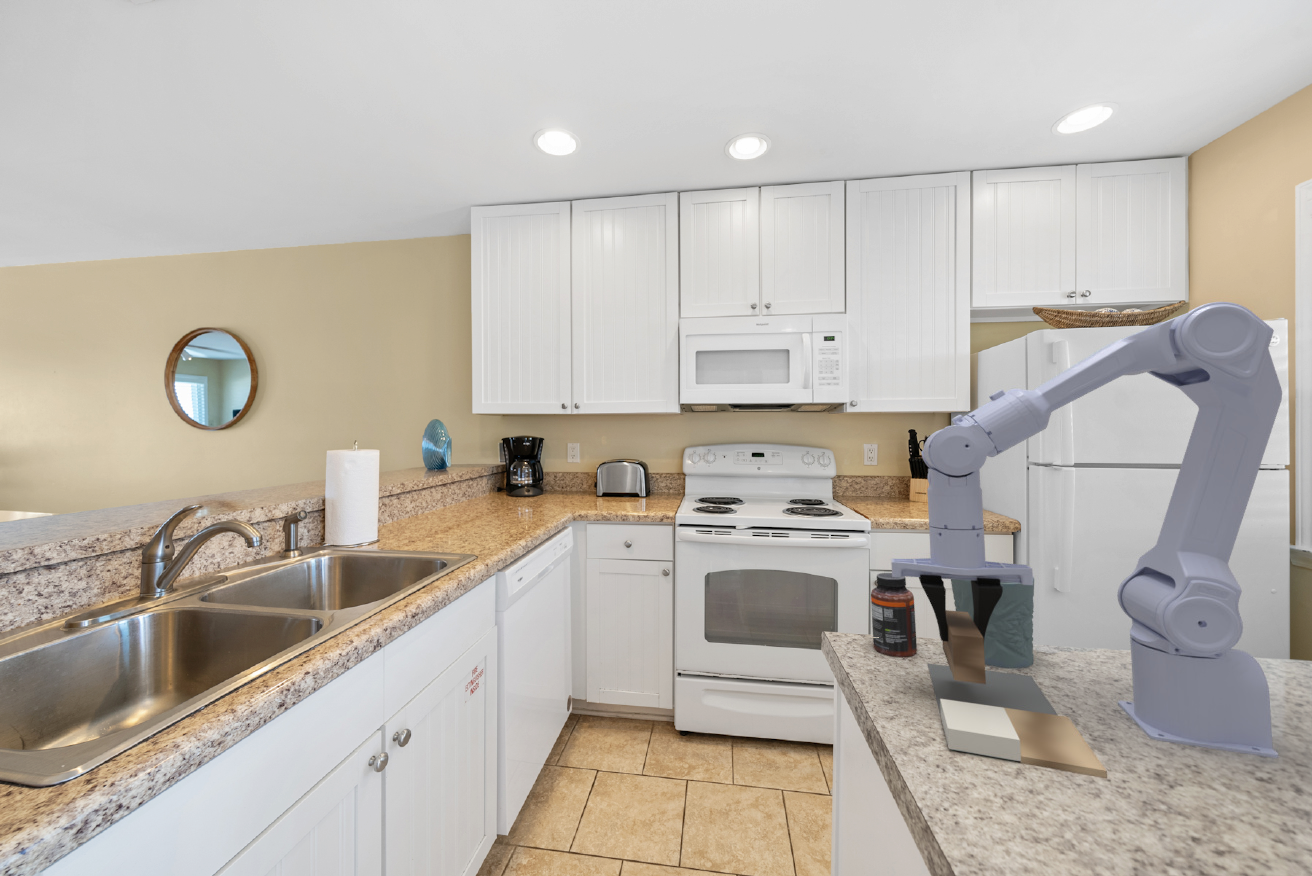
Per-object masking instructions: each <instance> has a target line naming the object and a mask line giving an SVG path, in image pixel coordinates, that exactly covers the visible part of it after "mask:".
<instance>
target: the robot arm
mask: <svg viewBox="0 0 1312 876" xmlns="http://www.w3.org/2000/svg"><path fill="white" fill-rule="evenodd" d="M1273 335H1274V329H1273V327H1271V326H1270V325H1269V324H1268V323H1266V321H1264V320H1262V318H1260V317H1259V316H1258V315H1256V313H1254V312H1253V311H1252V310H1250V309H1249V308H1247V307H1246V306H1243V305H1242V304H1239V303H1235V302H1230V301H1214V302H1213V301H1212V302H1208V303H1204V304H1202V305H1199V306H1196V307H1195V308H1193V309H1191V310H1189V311H1188V312H1186V313H1183V314H1181V315H1178V316H1175V317H1174V318H1170V319H1168V320H1166V321H1161V322H1157V323H1155V324H1151V325H1149V326H1148V327H1146V328H1144V330H1140V331H1138V332H1136V333H1133V334H1131V335H1128V336H1126V337H1124V338H1121V339H1118V340H1115V341H1112V342H1110V343H1108V344H1106V345H1105V346H1103V347H1101V348H1099V349H1098V350H1097V351H1094V352H1093V353H1092V354H1090V355H1089V356H1087V357H1084V358H1083V359H1082V360H1080V361H1079V362H1077V363H1074V364H1073V365H1072V366H1070V367H1069V368H1067V369H1065V370H1064V371H1061V372H1060V373H1059V374H1057V375H1055V376H1054V377H1052V378H1050V379H1049V380H1047V381H1045V382H1044V383H1042V384H1040V385H1039V386H1037V387H1035V388H1034V389H1032V390H1029V389H1023V388H1018V387H1017V388H1015V387H1014V388H1011V389H1009V390H1007V391H1004V390H1003V389H999V390H997V391H995V392H994V393H992V394H990V395H989V400H990V401H989V402H987V403H985V404H983V405H981V406H980V407H977V408H976V409H974V410H973V411H971V412H969V413H968V414H966V415H962V414H958V415H957V416H955V417H952V419H951V421H952V422H953V424H954V425H948V426H945V427H944V428H942V429H939V430H936V431H935V432H933V433H932V434H930V435H929V436H928V437H927V439H926V440H925V442H924V444H923V449H922V451H921V458H922V460H923V461H924V463H925V465H926V466H927V467H928V468H927V472H928V473H927V482H928V487H927V492H926V493H927V507H928V508H927V510H928V512H927V514H928V527H929V528H928V530H929V531H928V532H929V551H930V552H929V553H930V557H929V558H927V557H926V558H923V557H922V558H891V559H890V560H891V561H890V563H891V573H892V577H902V576H905V578H906V577H909V578H918V579H919V583H920V585H921V587H922V589H923V591H924V593H925V594H926V596H927V599H928V601H929V603H930V605H931V607H932V610H933V612H934V616H935V618H936V619H935V620H936V623H937V627H938V633H939V638H940V640H941V641H947V642H948V628H947V621H946V610H947V609H946V603H947V602H946V599H947V598H946V595H947V594H946V593H947V589H946V587H945V583H944V580H945V579H946V580H951V579H958V580H971V587H972V597H973V608H974V615H973V622H974V623H975V625H976V627H977V628H978V630H979V631H980V633H981V635H982V636H983V638H984V639H985V633H986V629H987V625H988V622H989V619H990V617H991V614H992V612H993V610H994V608H995V606H996V604H997V603H998V601H999V599H1000V598H1001V596H1002V593H1003V587H1002V586H1001V584H1000V582H1009V583H1021V584H1023V585H1033V578H1034V576H1033V575H1034V574H1033V568H1032V567H1031V566H1029V565H1028V564H1018V563H1008V562H1007V563H1006V562H996V561H988V560H986V548H985V545H986V544H985V543H986V542H985V526H984V509H983V508H984V507H983V506H984V505H983V490H982V488H981V476H980V475H981V473H980V470H981V468H982V467H983V466H984V465H985V462H986V460H987V458H994V457H997V456H998V455H1000V454H1001V453H1004V452H1006V451H1007V450H1009V449H1011V448H1013V447H1015V446H1017V445H1018V444H1020V443H1022V442H1024V441H1026V440H1028V439H1029V438H1032V437H1033V436H1035V435H1037V434H1038V433H1040V432H1043V431H1044V430H1046V429H1047V427H1048V426H1049V422H1050V418H1051V415H1052V413H1053V412H1055V411H1056V410H1058V409H1060V408H1062V407H1064V406H1066V405H1068V404H1070V403H1071V402H1074V401H1076V400H1078V399H1080V398H1081V397H1084V396H1086V395H1087V394H1090V393H1091V392H1093V391H1096V390H1097V389H1099V388H1101V387H1103V386H1105V385H1107V384H1110V383H1111V382H1113V381H1114V380H1116V379H1118V378H1120V377H1123V376H1137V375H1141V374H1145V373H1147V374H1149V375H1151V376H1152V377H1155V378H1157V379H1158V380H1161V381H1163V382H1164V383H1167V384H1169V385H1171V386H1172V387H1173V386H1174V387H1175V388H1177V389H1179V390H1180V391H1181V392H1182V393H1183V394H1184V395H1185V396H1186V397H1188V399H1190V400H1191V401H1192V402H1193V403H1194V404H1195V405H1196V406H1197V407H1198V411H1197V414H1196V417H1195V421H1194V422H1193V423H1194V424H1193V427H1192V430H1191V433H1190V435H1189V440H1188V443H1187V446H1186V449H1185V452H1184V455H1183V458H1182V461H1181V465H1180V469H1179V472H1178V474H1177V477H1176V481H1175V484H1174V487H1173V489H1172V493H1171V496H1170V498H1169V499H1170V500H1169V503H1168V506H1167V510H1166V513H1165V515H1164V518H1163V519H1164V520H1163V522H1162V525H1161V528H1160V531H1159V535H1158V538H1157V541H1156V544H1155V545H1154V546H1153V547H1152V548H1150V549H1149V550H1148V551H1146V552H1145V553H1143V555H1141V556H1140V557H1139V558H1138V561H1137V564H1136V567H1135V568H1134V570H1133V571H1132V572H1131V574H1129V575H1128V576H1127V577H1126V578H1124V579H1123V580H1122V582H1121V583H1120V585H1119V587H1118V589H1117V601H1118V604H1119V607H1120V609H1121V610H1122V612H1124V614H1125V615H1126V616H1128V617H1129V618H1130V619H1131V624H1132V625H1131V627H1130V630H1129V636H1130V638H1129V639H1130V640H1129V642H1130V654H1131V655H1130V658H1131V659H1130V660H1131V677H1132V678H1131V679H1132V696H1133V698H1132V699H1133V701H1129V700H1127V701H1126V700H1118V701H1117V705H1118V706H1119V708H1121V710H1122V711H1124V713H1125V714H1126V715H1127V716H1128V717H1129V718H1130V719H1131V721H1133V722H1134V724H1136V725H1137V727H1138V728H1139V729H1141V731H1142V732H1143V733H1144V734H1145V735H1146V736H1147V737H1148V738H1149V739H1151V740H1154V741H1158V742H1165V743H1166V742H1167V743H1172V744H1180V745H1185V746H1193V747H1199V748H1206V749H1213V750H1219V751H1220V750H1221V751H1225V752H1226V751H1227V752H1233V753H1240V754H1247V755H1252V756H1253V755H1254V756H1258V757H1259V756H1260V757H1265V758H1266V757H1268V758H1272V759H1278V758H1279V755H1280V754H1279V752H1277V751H1276V750H1275V749H1274V748H1273V747H1274V746H1273V731H1272V730H1273V729H1272V715H1271V699H1270V698H1271V697H1270V696H1271V695H1270V688H1269V684H1268V680H1267V677H1266V675H1265V672H1264V670H1263V668H1262V666H1261V665H1260V663H1259V662H1258V660H1257V659H1256V657H1254V656H1253V655H1251V654H1250V653H1249V652H1248V651H1246V650H1245V651H1244V650H1242V649H1237V648H1234V647H1235V646H1236V645H1237V644H1238V643H1239V641H1240V639H1241V638H1242V634H1243V629H1244V626H1243V625H1244V624H1243V619H1242V617H1241V613H1240V611H1239V610H1240V609H1239V602H1240V598H1241V596H1242V588H1241V586H1240V584H1239V582H1238V580H1237V579H1236V577H1235V575H1234V573H1233V572H1232V570H1231V568H1230V566H1229V561H1230V559H1231V556H1232V553H1233V549H1234V547H1235V544H1236V540H1237V538H1238V537H1237V536H1238V535H1239V534H1238V533H1239V531H1240V527H1241V524H1242V522H1243V519H1244V516H1245V514H1246V513H1245V512H1246V510H1247V507H1248V505H1249V500H1250V499H1251V498H1250V497H1251V495H1252V492H1253V489H1254V485H1255V483H1256V479H1257V476H1258V473H1259V470H1260V467H1261V464H1262V461H1263V457H1264V455H1265V452H1266V450H1267V449H1266V448H1267V446H1268V443H1269V439H1270V436H1271V434H1272V430H1273V428H1274V425H1275V422H1276V419H1277V414H1278V412H1279V409H1280V406H1281V403H1282V398H1283V389H1282V387H1281V383H1280V379H1279V377H1278V374H1277V371H1276V367H1275V365H1274V360H1273V359H1272V355H1271V351H1270V349H1269V347H1270V344H1271V341H1272V337H1273ZM943 579H944V580H943Z"/></svg>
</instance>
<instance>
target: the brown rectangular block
mask: <svg viewBox="0 0 1312 876" xmlns="http://www.w3.org/2000/svg"><path fill="white" fill-rule="evenodd" d="M946 621H947V628H948V642H947V641H942V650H943V653H944V656H945V659H946V661H947V664H948V666H949V667H950V670H951V672H952V675H953V678H954V680H956V681H964V682H972V683H980V684H986V677H985V670H986V664H985V658H984V638H983V636H982V635H981V633H980V631H979V630H978V628H977V627H976V625H975V623H974V622H973V620H972V618H971V617H970V615H969V613H968V612H961V611H956V610H948V609H946Z"/></svg>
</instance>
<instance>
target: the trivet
mask: <svg viewBox="0 0 1312 876" xmlns="http://www.w3.org/2000/svg"><path fill="white" fill-rule="evenodd" d="M1002 708H1003V707H1002ZM1004 709H1005V711H1006V713H1007V715H1008V717H1009V719H1010V721H1011V723H1012V725H1013V727H1014V729H1015V731H1016V733H1017V735H1018V737H1019V739H1020V753H1021V761H1019V763H1021V764H1025V765H1031V766H1035V767H1040V768H1048V769H1054V770H1058V771H1063V772H1064V771H1065V772H1070V773H1076V774H1081V775H1088V776H1093V777H1097V778H1103V779H1107V778H1108V770H1107V769H1106V767H1105V766H1104V765H1103V763H1102V762H1101V761H1100V759H1099V758H1098V757H1097V755H1096V754H1095V752H1094V751H1093V749H1092V748H1091V747H1090V745H1089V744H1088V743H1087V742H1086V740H1085V739H1084V737H1083V735H1082V734H1081V733H1080V732H1079V730H1078V729H1077V728H1076V726H1075V724H1074V723H1073V721H1072V720H1071V719H1070V718H1069V716H1065V715H1059V714H1058V715H1052V714H1045V713H1038V712H1031V711H1024V710H1017V709H1010V708H1004Z"/></svg>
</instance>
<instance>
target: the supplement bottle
mask: <svg viewBox="0 0 1312 876" xmlns="http://www.w3.org/2000/svg"><path fill="white" fill-rule="evenodd" d="M906 582H907V580H906V576H902V577H892V572H881V573H877V574H876V584H877V586H876V587H874V588H873V589H872V590H871V593H870V603H871V606H870V607H871V622H872V623H871V625H872V627H871V628H872V642H873V643H872V644H873V648H874V650H875V651H876V652H878V653H880V654H883V655H884V656H885V655H886V656H890V657H895V658H908V657H909V658H910V657H912V656H914V655H916V653H917V652H918V651H917V647H918V646H917V645H918V644H917V630H916V629H917V628H916V613H915V612H916V611H915V610H916V609H915V598H914V594H913V593H912V591H911V590H909V589H908V588H907V587H906V586H907V583H906ZM873 637H879V638H873Z"/></svg>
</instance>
